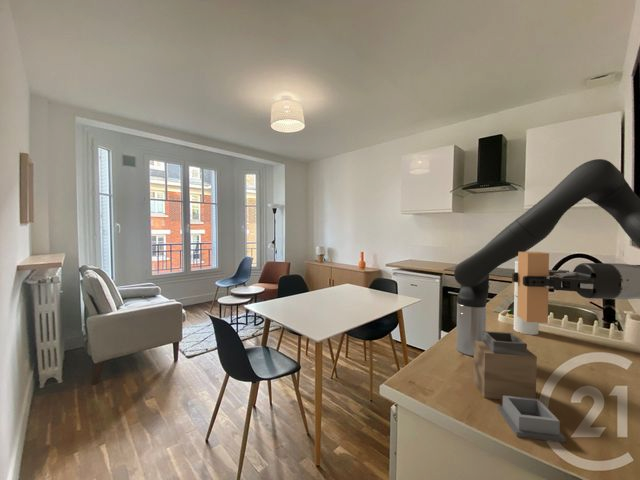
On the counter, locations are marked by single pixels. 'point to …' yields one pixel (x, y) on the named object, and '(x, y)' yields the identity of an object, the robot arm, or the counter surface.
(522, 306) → the plug
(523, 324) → the container
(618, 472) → the counter surface
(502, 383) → the square socket base
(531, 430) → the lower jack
